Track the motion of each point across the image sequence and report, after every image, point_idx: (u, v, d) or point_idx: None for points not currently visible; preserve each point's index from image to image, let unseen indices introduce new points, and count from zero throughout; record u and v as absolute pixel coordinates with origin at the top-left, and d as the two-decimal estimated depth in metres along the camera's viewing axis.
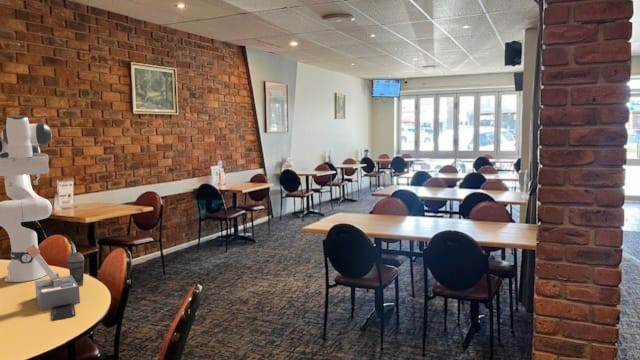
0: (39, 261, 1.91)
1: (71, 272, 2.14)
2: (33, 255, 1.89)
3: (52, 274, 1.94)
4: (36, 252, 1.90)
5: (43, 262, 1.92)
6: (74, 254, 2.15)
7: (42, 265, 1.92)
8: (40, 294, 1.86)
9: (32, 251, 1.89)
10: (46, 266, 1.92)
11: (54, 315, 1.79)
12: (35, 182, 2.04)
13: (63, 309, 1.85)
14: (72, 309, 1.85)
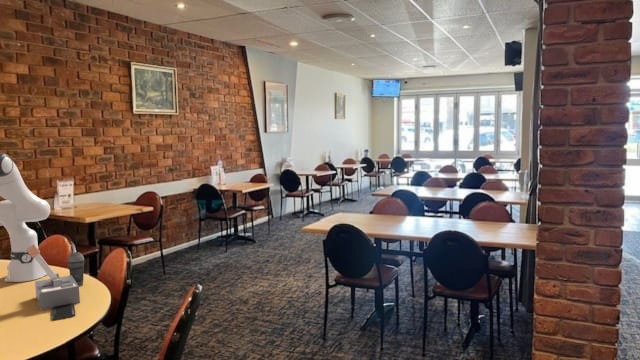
0: (39, 261, 1.91)
1: (71, 272, 2.14)
2: (33, 255, 1.89)
3: (52, 274, 1.94)
4: (36, 252, 1.90)
5: (43, 262, 1.92)
6: (74, 254, 2.15)
7: (42, 265, 1.92)
8: (40, 294, 1.86)
9: (32, 251, 1.89)
10: (46, 266, 1.92)
11: (54, 315, 1.79)
12: None
13: (63, 309, 1.85)
14: (72, 309, 1.85)
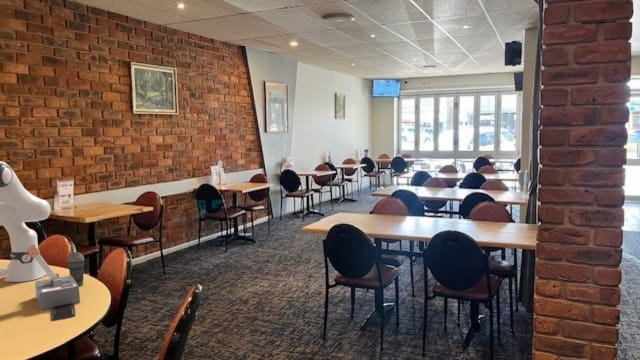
0: (39, 261, 1.91)
1: (71, 272, 2.14)
2: (33, 255, 1.89)
3: (52, 274, 1.94)
4: (36, 252, 1.90)
5: (43, 262, 1.92)
6: (74, 254, 2.15)
7: (42, 265, 1.92)
8: (40, 294, 1.86)
9: (32, 251, 1.89)
10: (46, 266, 1.92)
11: (54, 315, 1.79)
12: None
13: (63, 309, 1.85)
14: (72, 309, 1.85)
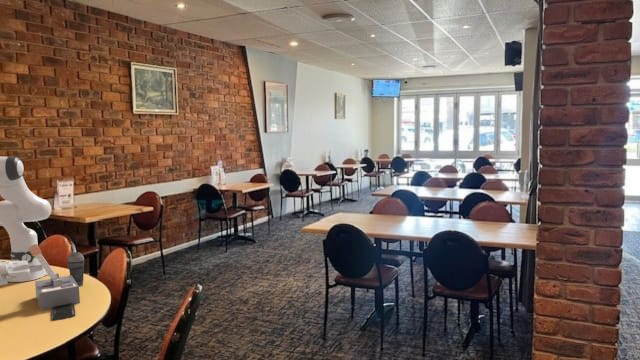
0: (40, 260, 1.91)
1: (71, 272, 2.14)
2: (35, 254, 1.89)
3: (52, 274, 1.94)
4: (38, 251, 1.90)
5: (44, 261, 1.92)
6: (74, 254, 2.15)
7: (43, 264, 1.92)
8: (40, 294, 1.86)
9: (34, 250, 1.89)
10: (47, 266, 1.93)
11: (54, 315, 1.79)
12: None
13: (63, 309, 1.85)
14: (72, 309, 1.85)
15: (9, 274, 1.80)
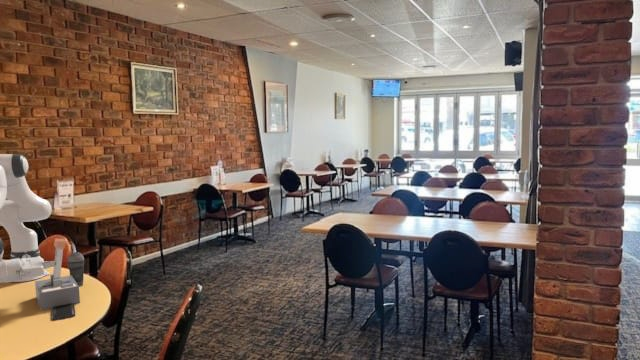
0: (58, 255, 1.95)
1: (71, 272, 2.14)
2: (58, 247, 1.94)
3: (59, 273, 1.95)
4: (62, 246, 1.95)
5: (60, 258, 1.95)
6: (74, 254, 2.15)
7: (58, 260, 1.95)
8: (40, 294, 1.86)
9: (60, 243, 1.94)
10: (60, 263, 1.95)
11: (54, 315, 1.79)
12: None
13: (63, 309, 1.85)
14: (72, 309, 1.85)
15: (23, 270, 1.83)
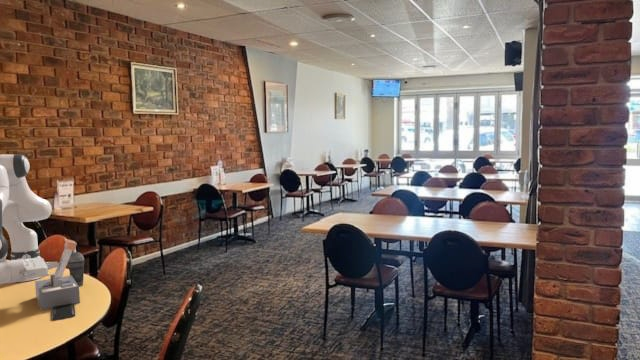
0: (66, 255, 1.96)
1: (71, 272, 2.14)
2: (69, 247, 1.96)
3: (61, 273, 1.96)
4: (73, 247, 1.97)
5: (67, 259, 1.97)
6: (74, 254, 2.15)
7: (64, 260, 1.96)
8: (40, 294, 1.86)
9: (72, 244, 1.97)
10: (65, 263, 1.96)
11: (54, 315, 1.79)
12: None
13: (63, 309, 1.85)
14: (72, 309, 1.85)
15: (27, 271, 1.83)
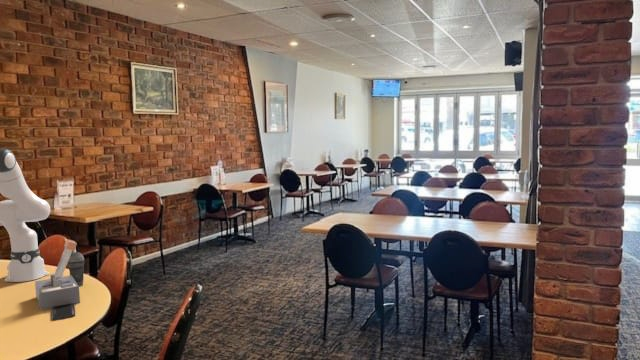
0: (66, 255, 1.96)
1: (71, 272, 2.14)
2: (69, 247, 1.96)
3: (61, 273, 1.96)
4: (73, 247, 1.97)
5: (67, 259, 1.97)
6: (74, 254, 2.15)
7: (64, 260, 1.96)
8: (40, 294, 1.86)
9: (72, 244, 1.97)
10: (65, 263, 1.96)
11: (54, 315, 1.79)
12: None
13: (63, 309, 1.85)
14: (72, 309, 1.85)
15: None
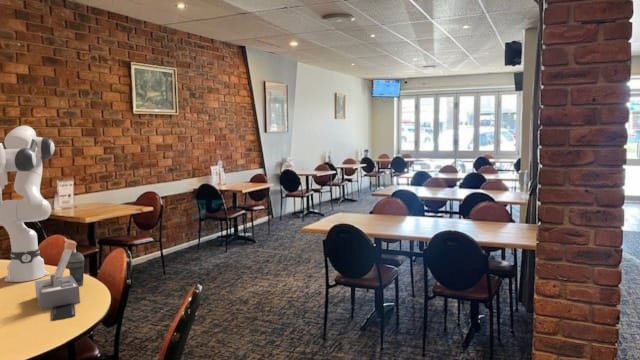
0: (66, 255, 1.96)
1: (71, 272, 2.14)
2: (69, 247, 1.96)
3: (61, 273, 1.96)
4: (73, 247, 1.97)
5: (67, 259, 1.97)
6: (74, 254, 2.15)
7: (64, 260, 1.96)
8: (40, 294, 1.86)
9: (72, 244, 1.97)
10: (65, 263, 1.96)
11: (54, 315, 1.79)
12: None
13: (63, 309, 1.85)
14: (72, 309, 1.85)
15: None
